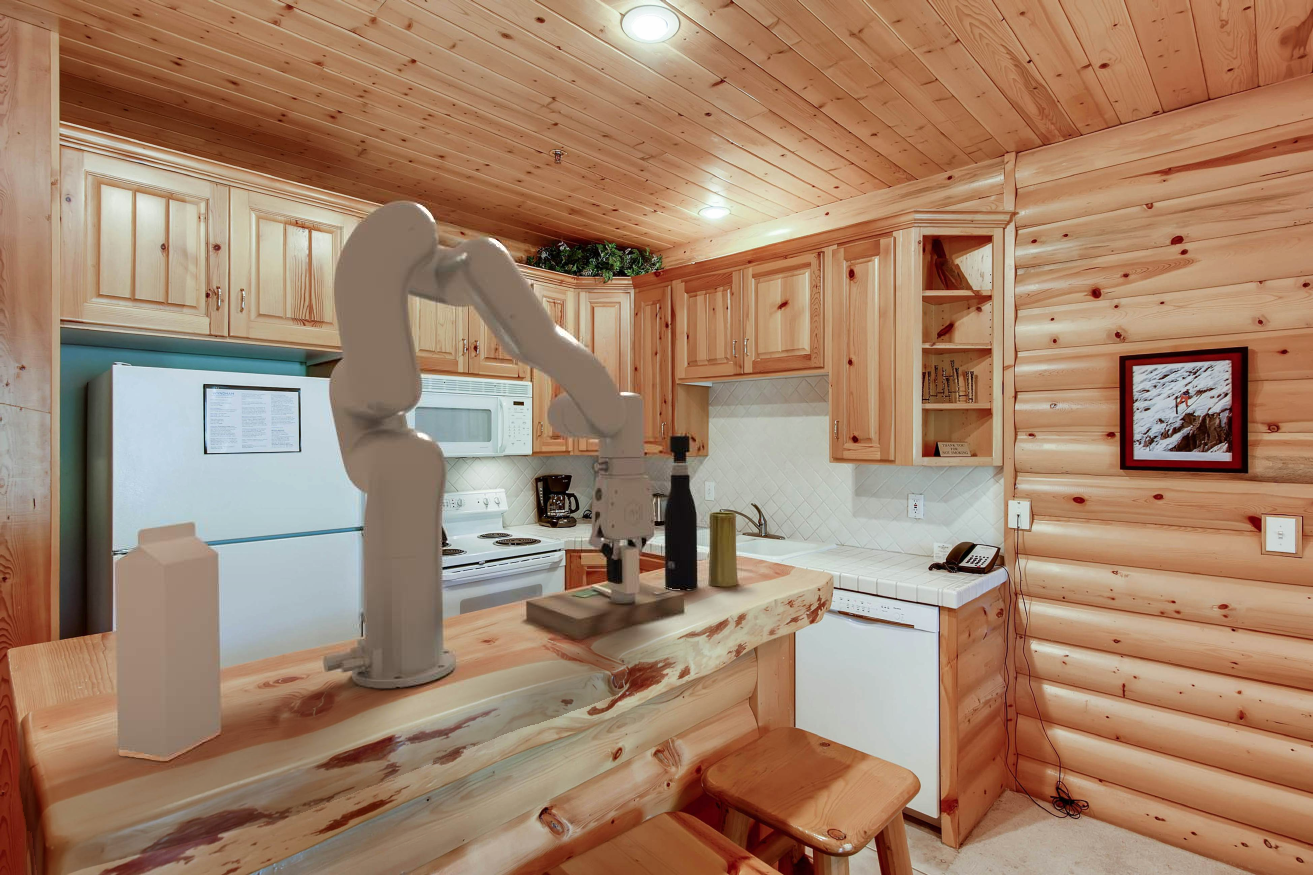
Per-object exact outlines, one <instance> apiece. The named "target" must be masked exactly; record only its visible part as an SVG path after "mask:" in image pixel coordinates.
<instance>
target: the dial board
mask: <svg viewBox="0 0 1313 875" xmlns="http://www.w3.org/2000/svg"><path fill="white" fill-rule="evenodd" d="M599 586H600V587H603V588H605V589H608V590H611V588H609V587H607V583H606V584H601V585H599ZM525 608H526V609H525V610H526V612H525V613H526V620H528V621H531V622H533V623H534V624H535V623H536V624H538V625H540V626H541V625H542V626H543V627H546V628H549V629H551V630H554V631H556V632H559V633H562V634H564V635H567V636H569V637H572V638H575V639H576V640H582V639H586V638H589V637H590V638H591V637H593V636H598V635H601V634H604V633H605V634H606V633H608V632H612V631H616V630H620V629H624V628H627V627H630V625H631V626H635V625H638V624H641V622H642V623H644V622H645V621H646V622H649V620H650V621H653V620H657V619H660V618H659V617H661V618H664V617H663V616H665V617H668V616H670V614H672V615H675V614H674V613H676V614H678V613H677V612H679V613H683V612H685V593H682V592H679V591H676V590H670V589H667V588H666V589H665V588H663V587H657V586H654V585H652V584H651V585H650V584H646V583H642V582H639V592H636V593H635V601H634V602H632V603H625V604H619V603H613V602H611V596H610V595H608V594H605V593H603V592H600V591H597V590H595V589H592V588H591V587H587V588H586V587H585V588H582V589H576V590H572V591H568V592H563V593H559V594H553V595H549V596H548V595H547V596H543V597H539V598H538V597H537V598H534V599H529V600H528V599H527V600H526V601H525ZM682 611H683V612H682ZM667 615H668V616H667ZM656 618H657V619H656ZM652 619H653V620H652ZM646 622H645V623H646ZM637 623H638V624H637ZM634 624H635V625H634ZM626 626H627V627H626ZM623 627H624V628H623ZM619 628H620V629H619Z"/></svg>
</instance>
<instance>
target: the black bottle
mask: <svg viewBox="0 0 1313 875" xmlns="http://www.w3.org/2000/svg"><path fill="white" fill-rule="evenodd" d="M690 443H691V442H690V435H670V436H669V449H670V450H669V452H670V453H673V461H672V462H673V465H672V467H671V469H672V471H671V473H672V474H671V475H670V490H669V493H668V496H667V500H666V504H665V508H664V509H665V510H664V518H663V519H664V581H665V582H664V586H666V587H668V588H672V589H680V590H686V591H688V590H687V589H693V590H695V589H694V588H696V587H697V588H698V522H697V521H698V514H697V509H696V504H695V501H694V497H693V493H692V491H691V488H690V487H691V483H690V482H691V481H690V480H691V477H690V474H689V471H688V469H689V466H688V465H687V463H688V461H687V453H690V449H691V448H690V446H691V444H690ZM676 464H677V465H676ZM685 464H686V465H685ZM666 587H665V588H666ZM697 588H696V589H697Z"/></svg>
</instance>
